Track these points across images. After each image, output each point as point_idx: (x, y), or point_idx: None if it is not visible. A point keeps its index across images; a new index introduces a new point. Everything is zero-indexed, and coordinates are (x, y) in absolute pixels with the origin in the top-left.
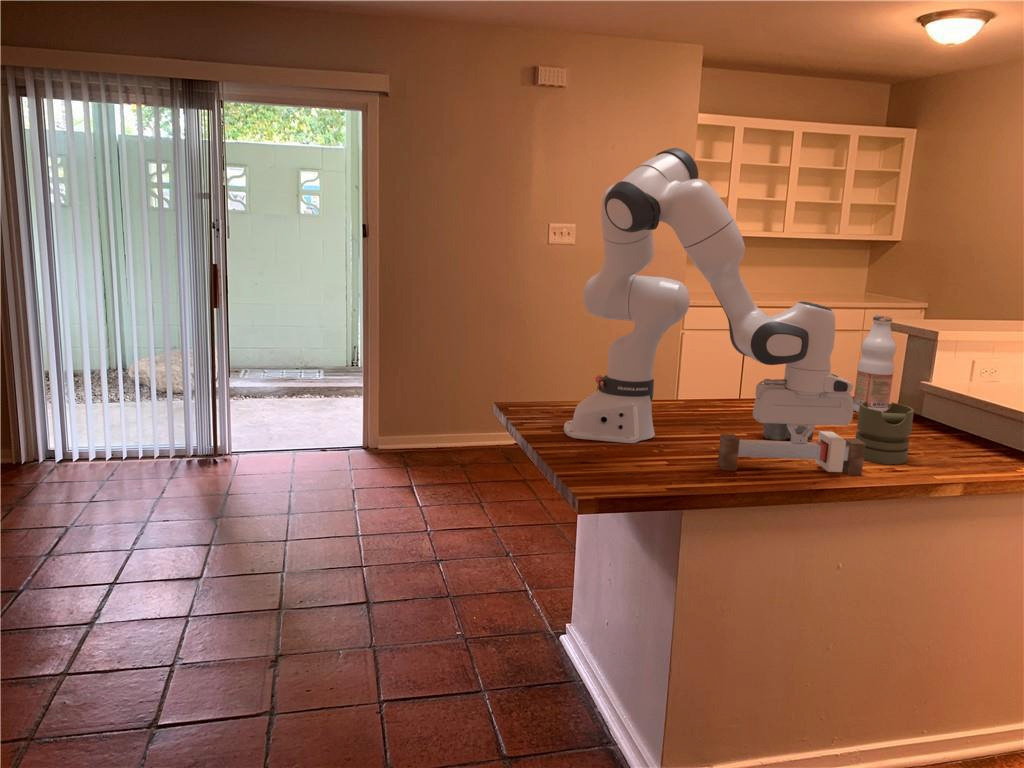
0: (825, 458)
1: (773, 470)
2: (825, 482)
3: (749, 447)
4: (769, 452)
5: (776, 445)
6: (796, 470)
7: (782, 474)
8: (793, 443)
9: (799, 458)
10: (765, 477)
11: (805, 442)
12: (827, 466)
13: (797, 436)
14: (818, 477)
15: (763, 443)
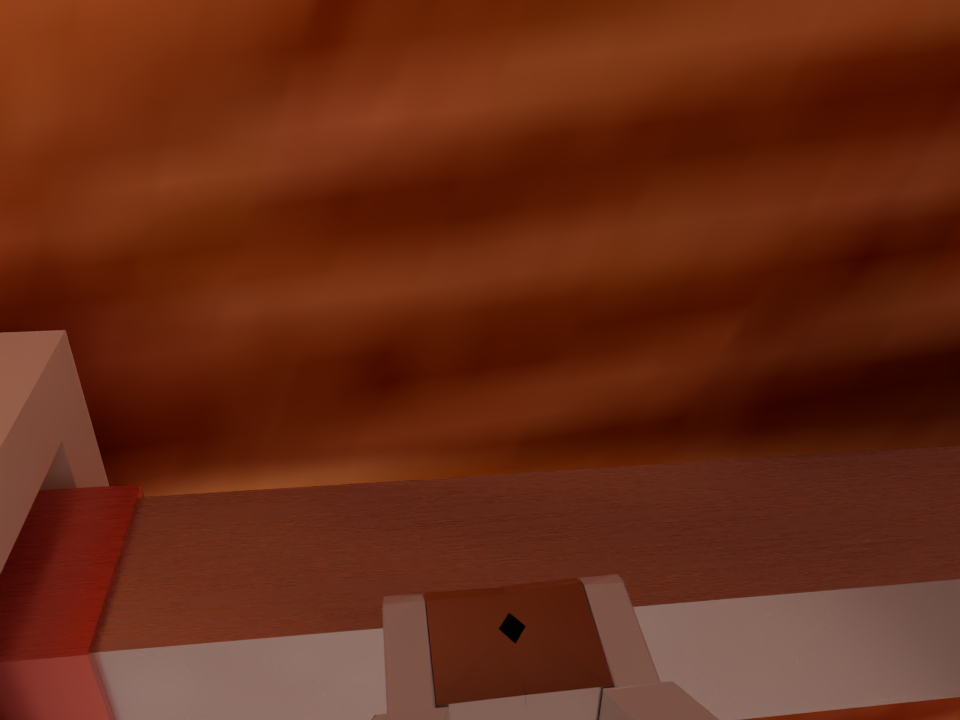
0: (56, 510)
1: (643, 395)
2: (160, 57)
3: None
4: (814, 503)
5: (783, 582)
6: (394, 432)
7: (607, 289)
8: (616, 577)
9: (413, 482)
10: (858, 162)
11: (414, 612)
12: (56, 391)
13: (598, 691)
14: (207, 245)
15: (943, 603)
